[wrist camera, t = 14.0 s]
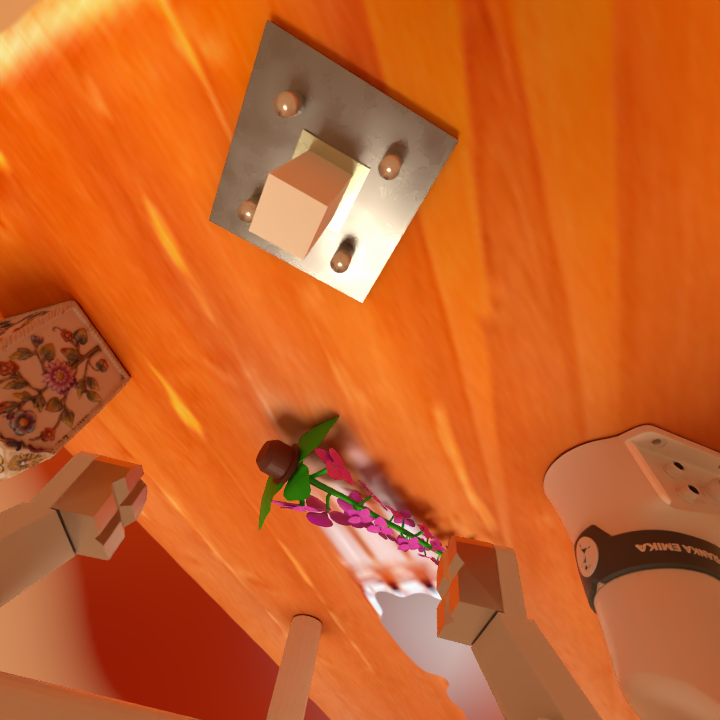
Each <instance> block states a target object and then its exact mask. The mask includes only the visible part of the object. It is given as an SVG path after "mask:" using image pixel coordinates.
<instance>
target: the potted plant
mask: <svg viewBox="0 0 720 720" xmlns="http://www.w3.org/2000/svg"><path fill="white" fill-rule="evenodd" d="M338 418H339V416H338V417H336V418H333V419H331V420H328V421H326V422H324V423H322V424H320V425H317V426H315V427H314V428H313V429H311V430H310V431H308V432H306V433H305V434H303V436H302V437H301V439H300V441H299V443H298V446H297V444H293V445H292V446H289V445H287V444H285V443H283V442H281V441H280V440H271V441H267V442H266V443H265V444H264V445H263V447H262V448H261V450H260V452H259V454H258V456H257V459H256V463H257V465H258V467H259V469H260V471H262V472H264V473H266V474H267V475H269V478H268V480H267V483H266V487H265V490H264V493H263V497H262V502H261V508H260V516H259V530H260V529H261V527H262V525H263V523H264V520H265V518H266V516H267V514H268V513H269V511H270V506H271V502H273V503H275V504H278V505H283V506H291V507H280V508H289V509H294V510H297V511H304V512H306V511H305V510H309V511H315V512H308V513H307V515H306V516H307V519H308V520H309V521H310V522H311V523H313V524H315V525H318V526H322V527H331V526H332V525H333V523H332V521H331V520H330V519H329V518H328V514H329V515H330V517H331V519H332V520H333V521H335V522H336V523H338V524H341V525H347V526H348V525H352V526H353V527H356V528H363V527H365V528H367V531H369V532H372V533H378V534H379V535H380V536H381V537H383V538H384V539H388V538H389V539H390V540H392V541H395V542H396V543H397V544H398V545H400V546H399V547H398V549H399V550H403V551H405V552H406V551H408V549H411V550H415V549H419V551H420V552H423V551H424V553H425V555H422V557H427V556H426V552H425V550H427V551H429V550H432V551H433V552H435V553H437V554H439V556H440V555H441V556H442V554H443V552H444V551H445V550H444V548H443V547H441V546H442V544H441V543H440V541H439V539H438V538H437V539H436V537H435V536H433V534H432V533H430V532H429V530H428V528H427V526H426V525H425V524H424V523H423V526H424V527H423V526H422V525H420V524H419V525H418V526H419V528H420V529H421V531H420V532H418V533H417V534H415V535H414V534H412V533H411V532H409V531H407V530H405V529H404V523H405V524H407V525H409V526H412V527H415V523H414V521H413V520H411V519H408V518H410V517H411V514H410V513H409V512H408V511H401V512H399V511H395V510H394V509H392V508H391V507H389V506H386V505H385V506H386V507H387V508H389V509H390V510H391V512H392V513H393V516H392V518H391V519H390V521H388V520H387V519H385V518H383V517H381V516H379V515H378V514H376V513H374V512H373V511H371V510H370V509H369V508H368V507H366V506H363V505H364V502H366V501H367V500H369V499H370V498H371V497H373V498H374V500H376V501H377V502H379V503H380V504H381V506H382V507H383V508H384V509H385V510H386V511H387V509H386V508H385V507H384V506H383V504H382V503H381V502H380V500H379V499H378V498H377V497H376V496H372V494H373V493H372V492H371V491H370V490H369V489H368V488H367V487H366V486H365V485H364V484H363V483H362V482H361V481H360V480H358V481H359V482H360V483H361V484H362V485H363V486H364V487H365V488H366V490H367V491H368V492H369V493H370V495H371V496H369V497H367V498H366V499H364V500H363V499H362V497H361V496H360V494H359V493H357V492H356V491H355V492H352V493H351V494H350V495H349V496H346V495H344V494H342V493H340V492H338V491H336V490H334V489H333V488H331V487H329V486H327V485H325V484H323V483H321V482H319V481H318V480H316V479H314V478H316V477H318V476H321V475H323V474H324V473H326V472H327V473H328V475H329V476H330V477H331V478H333V479H335V480H336V479H338V480H341V479H342V478H343V479H344V480H345V481H346V482H348V483H350V484H351V485H353V480H352V478H351V475H350V473H349V472H348V470H347V469H346V468H345V467H344V462H343V459H342V458H341V457H340V456H339V454H338V453H337V452H336V451H335V450H334V449H332V448H330V449H329V454H330V455H329V454H328V453H327V452H326V451H325V450H323V449H320V448H316V447H318V446H319V444H320V443H321V442H322V440H323V438H324V437H325V435H326V434H327V433H328V431H329V430H330V429H331V427H332V426H333V425H334V424H335V422H336V421H337V419H338ZM313 450H314V451H315V452H316V454H317V455H318V456H319V457H320V458H321V459H322V460H323V462H324V463H325V464H326V465H327V468H325V469H323V470H321V471H319V472H317V473H315V474H312V475H309V470H308V467H307V466H306V465H304V464H303V460H304V459H305V457H306V456H307V455H308V454H309V453H310V452H312V451H313ZM332 459H333V460H332ZM333 461H334V463H333ZM287 481H288V483H287V485H286V487H285V489H284V497H285V498H286V499H287V500H288V501H292V500H299V501H300V504H293V503H287V502H280V501H273V500H272V498H273V496H274V495H275V494H276V493H277V492H278V491H279V490H280V489H281V488H282V486H283V485H284V484H285V482H287ZM310 484H311V485H313V486H315V487H317V488H319V489H321V490H323V491H325V492H327V493H328V494H327V496H326V504H325V503H324V502H322V501H321V500H319V499H318V498H316V497H314V496H312V495H310V492H311V489H310ZM331 495H334V496H336V497H338V499H337V502H338V504H339V506H340V507H341V508H342V509H343V510H344V514H343V513H341V512H338V511H332V510H331V509H330V507H329V498H330V496H331ZM304 499H306V504H307V506H305V501H304ZM297 506H300V507H297ZM303 508H304V509H305V510H303ZM321 511H325V512H322V513H316V512H321ZM330 511H331V512H330ZM329 512H330V513H329ZM327 513H328V514H327ZM394 516H395V517H394ZM393 518H394V522H395V523H402V527H400V526H398V525H396V524H394V523H392V522H391V521H392V519H393ZM405 518H407V519H405ZM375 519H376V520H375ZM373 520H375V521H374V524H375V525H374V524H373V523H372V521H373ZM386 525H388V527H382V526H386ZM389 527H391V528H393V529H395V530H397V531H399V532H401V533H400V534H401V536H400V535H398V537H397V538H394V537H393V536H391V534H393V533H394V532H393V531H392V529H390V528H389ZM424 528H425V529H424ZM380 531H381V532H380ZM402 533H403V534H405V535H407V536H406V538H405V537H404V536H403V534H402ZM385 534H386V535H385ZM421 534H422V535H424V536H425V537H426V538H427V542H425V541H424V539H422V538H421V539H420V538H419V537H417V536H419V535H421ZM386 536H387V537H388V538H387V537H386ZM408 537H409V540H408ZM410 538H411V539H410ZM429 538H431V539H432V538H434V539H436V540H435V541H430V544H428V539H429ZM446 547H447V548H448V545H447V546H446ZM441 551H442V552H441ZM419 556H421V554H419ZM439 556H438V558H437V560H436V559H435V558H433V557H432V559H431V558H430V557H427V558H430V559H431V560H432V561H433V562H435V564H436V565H438V566H439V561H438V559H439Z"/></svg>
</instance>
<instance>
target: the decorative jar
mask: <svg viewBox="0 0 720 720" xmlns="http://www.w3.org/2000/svg"><path fill="white" fill-rule="evenodd" d="M129 380H130V376H129V375H128V374H127V372H126V371H125V369H124V368H123V367H122V365H121V364H120V362H119V361H118V359H117V358H116V356H115V355H114V354H113V352H112V351H111V350H110V348H109V347H108V345H107V344H106V342H105V341H104V340H103V338H102V337H101V336H100V334H99V333H98V332H97V330H96V329H95V328H94V326H93V325H92V324H91V322H90V321H89V319H88V318H87V316H86V315H85V314H84V312H83V311H82V309H81V308H80V307H79V305H78V304H77V303H76V302H75V301H73V300H69V301H66V302H62V303H58V304H55V305H52V306H48V307H44V308H41V309H37V310H33V311H30V312H26V313H23V314H19V315H16V316H13V317H9V318H5V319H2V320H0V480H4V479H8V478H10V477H12V476H14V475H17V474H19V473H20V472H22V471H24V470H26V469H28V468H31V467H34V466H36V465H38V464H39V463H41V462H43V461H45V460H47V459H51V458H53V457H54V455H55V454H56V453H58V452H59V451H60V450H61V448H62V447H63V446H65V445H66V443H68V442H69V441H70V440H71V439H72V438H73V437H74V436H75V435H76V434H77V433H78V432H79V431H80V430H81V429H82V428H83V427H84V426H85V425H86V424H87V423H88V422H89V421H90V420H91V419H93V418H94V417H95V416H96V414H98V413H99V412H100V411H101V410H102V409H103V407H105V406H106V404H108V402H110V400H112V398H114V396H116V394H117V393H118V392H119V391H120V390H121V389H122V388H123V387H124V386H125V385H126V384H127V383H128V382H129Z"/></svg>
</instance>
